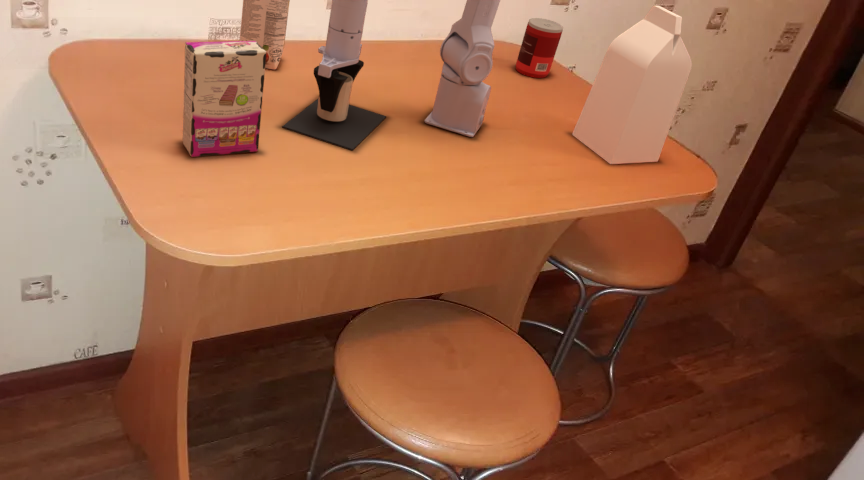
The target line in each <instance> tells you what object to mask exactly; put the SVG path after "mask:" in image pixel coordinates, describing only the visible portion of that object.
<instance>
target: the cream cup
mask: <svg viewBox="0 0 864 480" xmlns="http://www.w3.org/2000/svg"><path fill="white" fill-rule="evenodd" d="M338 72H339V71H338ZM339 74H341V75H344V76H347V77H348V78H347V80H346V81H345V82H344V84H343V86H342V88H341V90H340V92H339V95H338V99H337V102H336V105H335V108H334V110H333V111H332V112H328V111H325V110H322V109H321V106H320V96H319V95H318V98H319V100H318V107H317V115H318V116H319V117H321V118H323V119H325V120H329V121H343V120H345V119H346V118H347V113H348V107H349V105H350V100H351V95H352V90H353V84H354V82H353V78H352V77H351V76H350V75H348V74H346V73H343V72H339Z"/></svg>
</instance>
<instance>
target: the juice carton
mask: <svg viewBox="0 0 864 480" xmlns="http://www.w3.org/2000/svg"><path fill="white" fill-rule="evenodd" d="M290 1H291V0H242V10H241V21H240V34H239V41H256V42H257V43H258V44H259V45H260V46H261V47H262V48H263V49H264V50H265V51H266V64H265V69H269V70H277V69H278V66H279V65H280V62H281V59H282V57H283V53H284V51H285V50H284V49H285V45H286V44H285V43H286V35H287V28H288V27H287V26H288V19H289V10H290Z"/></svg>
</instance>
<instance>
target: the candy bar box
mask: <svg viewBox="0 0 864 480" xmlns="http://www.w3.org/2000/svg"><path fill="white" fill-rule="evenodd" d="M265 64H266V51H265V50H264V49H263V48H262V47H261V46H260V45H259V44H258V43H257V42H256V41H240V40H228V41H227V40H224V41H185V43H184V71H183V72H184V73H183V74H184V76H183V110H182V111H183V112H182V145H183V147H184V148H185V150H186V151H187V153H188V155H190V157H191V158H198V157H199V158H200V157H210V156H222V155H232V154H233V155H234V154H244V153H245V154H246V153H255V152H258V151H259V142H260V132H261V119H262V107H263V97H264V87H265V86H264V85H265V73H266V68H265Z"/></svg>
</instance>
